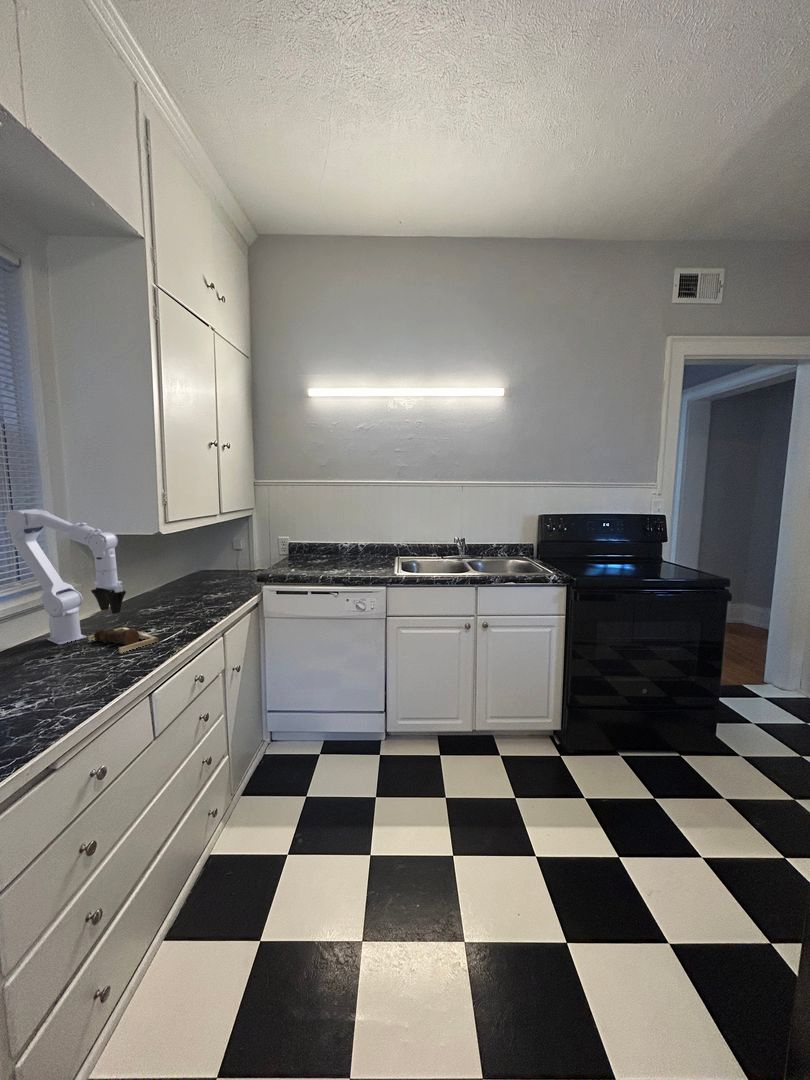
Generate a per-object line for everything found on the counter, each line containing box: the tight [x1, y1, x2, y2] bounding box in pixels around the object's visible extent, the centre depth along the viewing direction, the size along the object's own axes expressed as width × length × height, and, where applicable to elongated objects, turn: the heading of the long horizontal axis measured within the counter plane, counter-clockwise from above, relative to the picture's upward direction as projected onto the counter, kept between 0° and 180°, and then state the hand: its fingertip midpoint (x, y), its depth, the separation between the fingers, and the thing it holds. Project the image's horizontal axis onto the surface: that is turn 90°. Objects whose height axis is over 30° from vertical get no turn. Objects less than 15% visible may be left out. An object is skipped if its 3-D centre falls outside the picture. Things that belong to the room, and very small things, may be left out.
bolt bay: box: [87, 626, 159, 654], centre depth 151 cm, size 21×11×2 cm, turn 56°
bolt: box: [93, 627, 140, 646], centre depth 151 cm, size 6×5×15 cm
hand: (110, 611), depth 153 cm, fingers open, 7 cm apart
